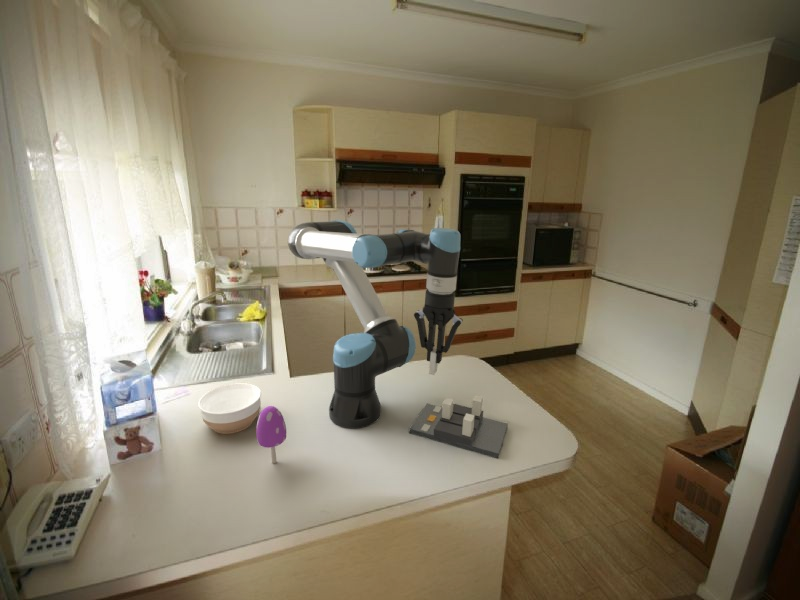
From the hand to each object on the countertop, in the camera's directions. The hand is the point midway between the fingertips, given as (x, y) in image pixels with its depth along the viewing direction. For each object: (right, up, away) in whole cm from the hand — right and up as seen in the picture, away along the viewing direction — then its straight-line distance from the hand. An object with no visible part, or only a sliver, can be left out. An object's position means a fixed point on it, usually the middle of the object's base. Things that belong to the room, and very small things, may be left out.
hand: (432, 372), depth 107 cm
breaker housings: (+7, -15, 0) cm, 17 cm away
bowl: (-56, -15, +3) cm, 58 cm away
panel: (+7, -16, +1) cm, 18 cm away
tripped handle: (+4, -12, +1) cm, 13 cm away
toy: (-39, -20, -13) cm, 46 cm away
